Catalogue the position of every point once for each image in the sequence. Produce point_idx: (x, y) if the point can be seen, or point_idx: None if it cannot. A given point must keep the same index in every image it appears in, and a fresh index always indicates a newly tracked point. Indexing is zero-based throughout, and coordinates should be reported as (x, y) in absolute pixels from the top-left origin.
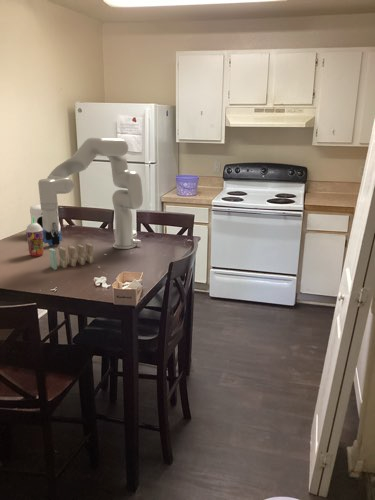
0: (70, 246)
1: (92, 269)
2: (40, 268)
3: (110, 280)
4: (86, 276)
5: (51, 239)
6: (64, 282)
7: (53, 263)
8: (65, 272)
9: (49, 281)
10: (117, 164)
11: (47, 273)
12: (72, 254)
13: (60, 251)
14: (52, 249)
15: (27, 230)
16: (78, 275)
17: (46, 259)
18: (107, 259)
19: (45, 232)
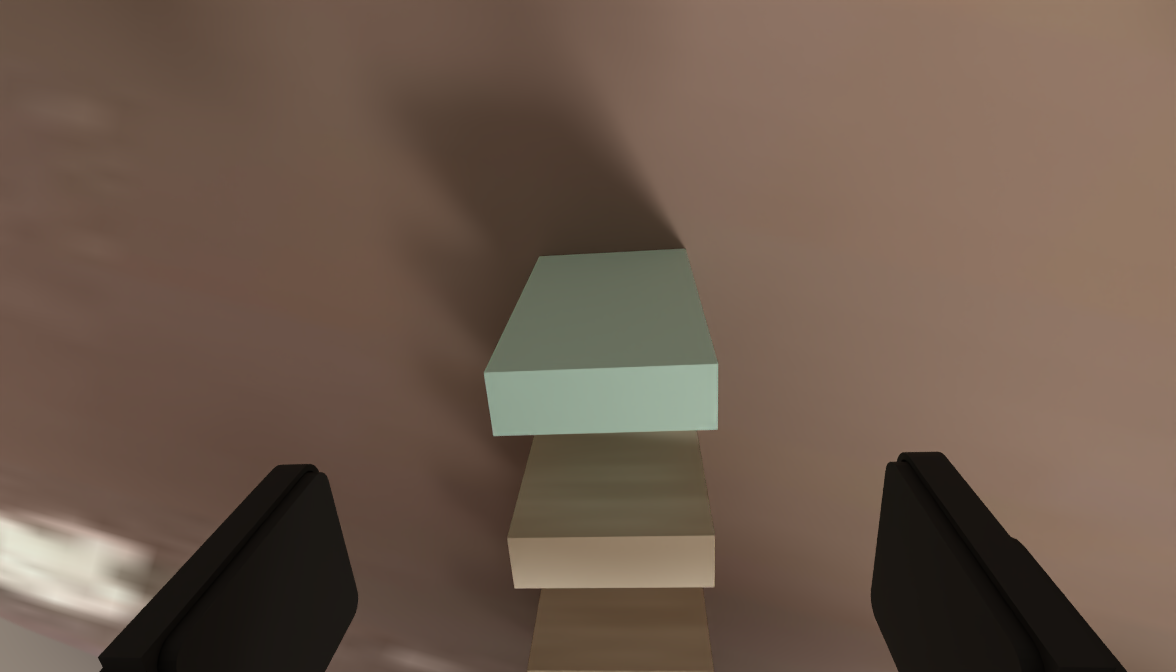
0: None
1: (372, 597)
2: (680, 94)
3: (21, 619)
4: (173, 493)
5: (882, 566)
6: (21, 250)
7: (527, 285)
8: (372, 350)
9: (85, 89)
10: None
11: (413, 139)
12: (541, 594)
13: (616, 498)
14: (624, 405)
15: None
16: (225, 439)
17: (1053, 273)
18: None
19: (1083, 647)
